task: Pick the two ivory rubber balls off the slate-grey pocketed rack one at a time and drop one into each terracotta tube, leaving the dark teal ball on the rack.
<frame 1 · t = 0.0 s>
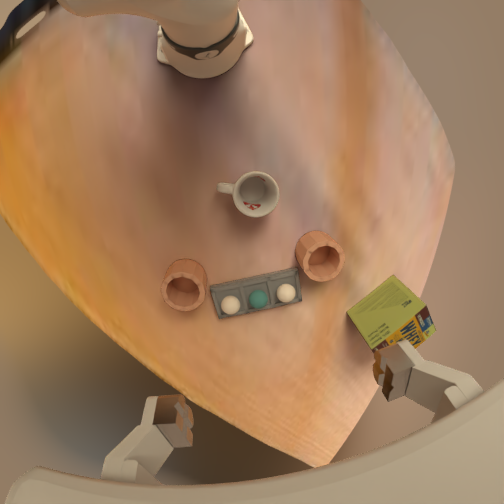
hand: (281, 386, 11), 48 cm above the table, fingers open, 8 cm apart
ball c: (286, 293, 61), point 3 cm above the table, touching rack
protein box: (377, 305, 69), on the table
tube a: (186, 277, 61), on the table
cup: (244, 187, 55), on the table
rack: (256, 292, 63), on the table
ball a: (230, 305, 61), point 3 cm above the table, touching rack
tube b: (314, 249, 61), on the table
ball b: (258, 299, 61), point 3 cm above the table, touching rack
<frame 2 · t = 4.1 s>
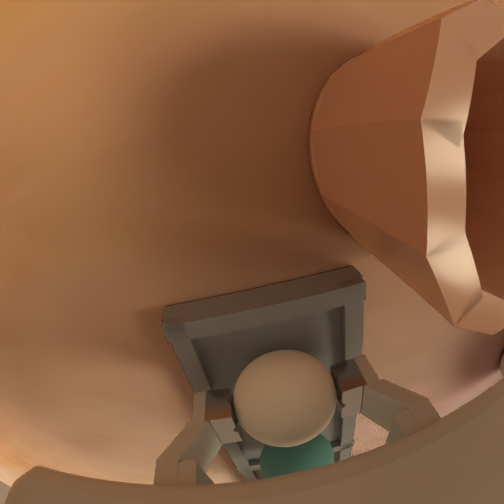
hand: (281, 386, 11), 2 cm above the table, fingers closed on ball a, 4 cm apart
tube a: (405, 150, 10), on the table
rack: (287, 420, 15), on the table
ball a: (285, 398, 10), point 3 cm above the table, touching gripper, rack
ball b: (296, 460, 12), point 3 cm above the table, touching rack
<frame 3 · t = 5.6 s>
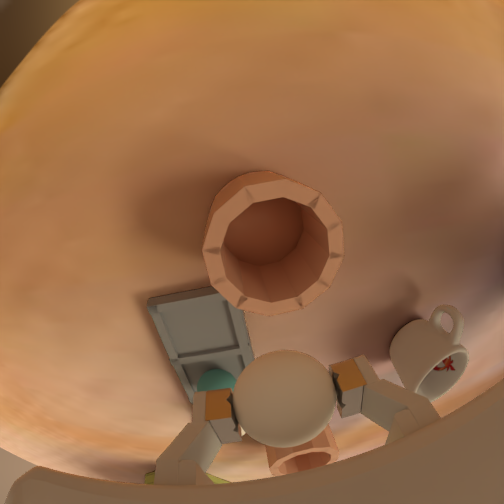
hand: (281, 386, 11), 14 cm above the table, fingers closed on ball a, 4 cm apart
tube a: (261, 224, 23), on the table
cup: (412, 327, 30), on the table
rack: (217, 368, 28), on the table
ball a: (284, 399, 10), point 15 cm above the table, touching gripper
tube b: (294, 425, 33), on the table
ball b: (217, 388, 25), point 3 cm above the table, touching rack
when the fingers open (9 cm above the table, at t = 7.1 s): ball a drops 7 cm, resting on tube a.
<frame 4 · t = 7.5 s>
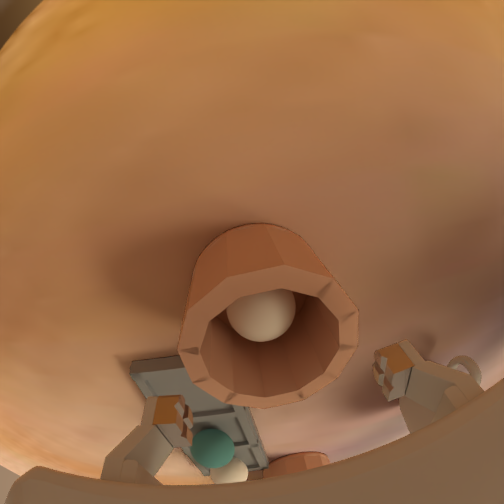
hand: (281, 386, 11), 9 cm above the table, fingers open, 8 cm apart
ball c: (229, 472, 23), point 3 cm above the table, touching rack
tube a: (257, 286, 19), on the table
cup: (424, 373, 25), on the table
rack: (212, 424, 24), on the table
ball a: (261, 307, 17), point 3 cm above the table, touching tube a
tube b: (295, 466, 29), on the table
ball b: (212, 448, 21), point 3 cm above the table, touching rack
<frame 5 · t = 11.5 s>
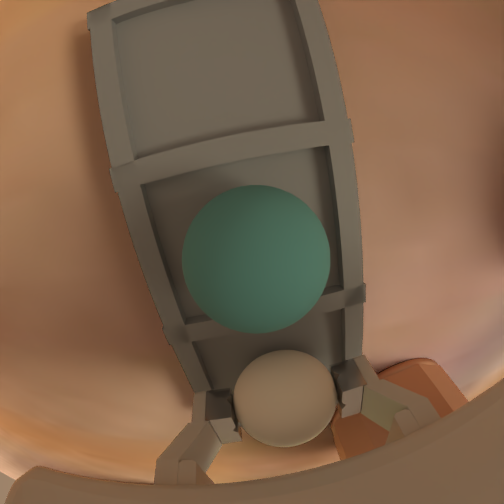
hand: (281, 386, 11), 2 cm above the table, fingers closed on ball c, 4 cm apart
ball c: (285, 398, 10), point 3 cm above the table, touching gripper, rack
rack: (247, 228, 11), on the table
tube b: (389, 405, 16), on the table
ball b: (256, 259, 8), point 3 cm above the table, touching rack
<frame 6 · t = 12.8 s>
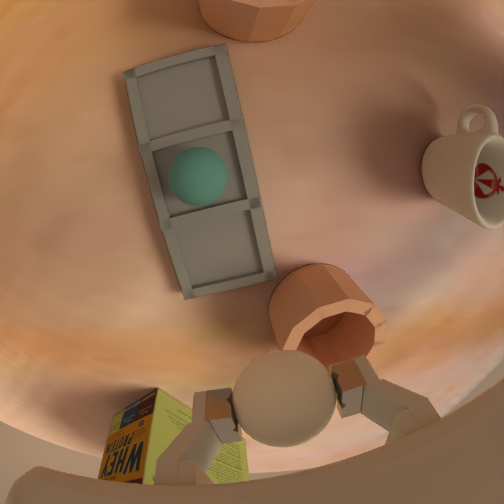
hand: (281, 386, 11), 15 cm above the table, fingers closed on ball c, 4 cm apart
ball c: (284, 398, 10), point 15 cm above the table, touching gripper
protein box: (179, 429, 32), on the table
tube a: (251, 1, 17), on the table
cup: (441, 155, 23), on the table
rack: (200, 172, 21), on the table
tube b: (313, 305, 27), on the table
ball b: (197, 176, 19), point 3 cm above the table, touching rack
when the fingers open (9 cm above the table, at t = 14.5 s): ball c drops 7 cm, resting on tube b.
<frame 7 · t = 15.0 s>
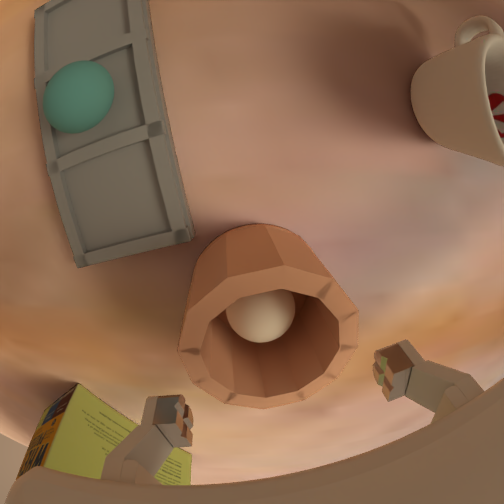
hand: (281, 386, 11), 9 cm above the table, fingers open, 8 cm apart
ball c: (260, 308, 17), point 3 cm above the table, tilted 5°, touching tube b
protein box: (114, 434, 25), on the table
cup: (437, 88, 15), on the table
rack: (100, 103, 14), on the table
tube b: (257, 287, 19), on the table
ball b: (78, 96, 11), point 3 cm above the table, touching rack
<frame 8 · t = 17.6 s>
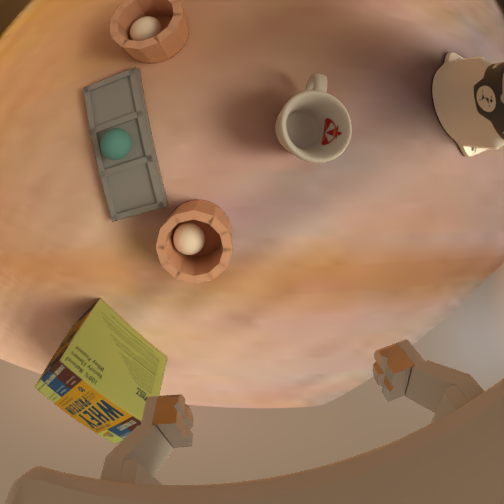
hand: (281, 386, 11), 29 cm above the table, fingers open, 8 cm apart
ball c: (189, 238, 36), point 3 cm above the table, tilted 31°, touching tube b
protein box: (117, 342, 44), on the table
tube a: (156, 35, 28), on the table
cup: (300, 119, 34), on the table
rack: (123, 143, 33), on the table
ball a: (145, 30, 25), point 3 cm above the table, tilted 28°, touching tube a
tube b: (198, 231, 38), on the table
ball b: (115, 144, 30), point 3 cm above the table, touching rack
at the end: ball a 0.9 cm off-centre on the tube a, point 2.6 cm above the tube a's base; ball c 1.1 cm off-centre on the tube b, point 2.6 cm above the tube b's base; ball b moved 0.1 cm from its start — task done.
